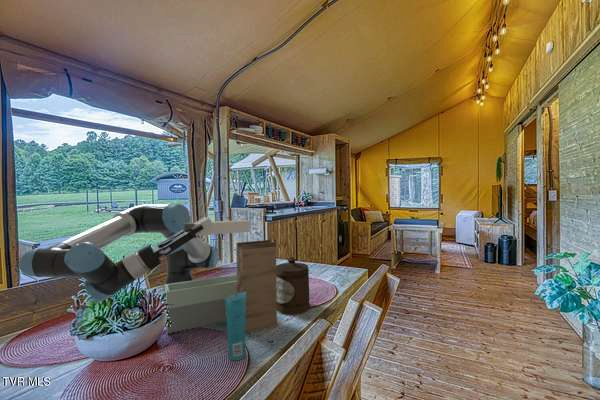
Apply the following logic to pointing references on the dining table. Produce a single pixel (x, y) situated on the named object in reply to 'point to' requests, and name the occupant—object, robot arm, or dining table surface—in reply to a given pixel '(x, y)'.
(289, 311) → the wooden container
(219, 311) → the tray
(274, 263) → the tan tall block
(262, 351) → the dining table surface
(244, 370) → the dining table surface
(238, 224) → the sleeve
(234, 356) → the tube
